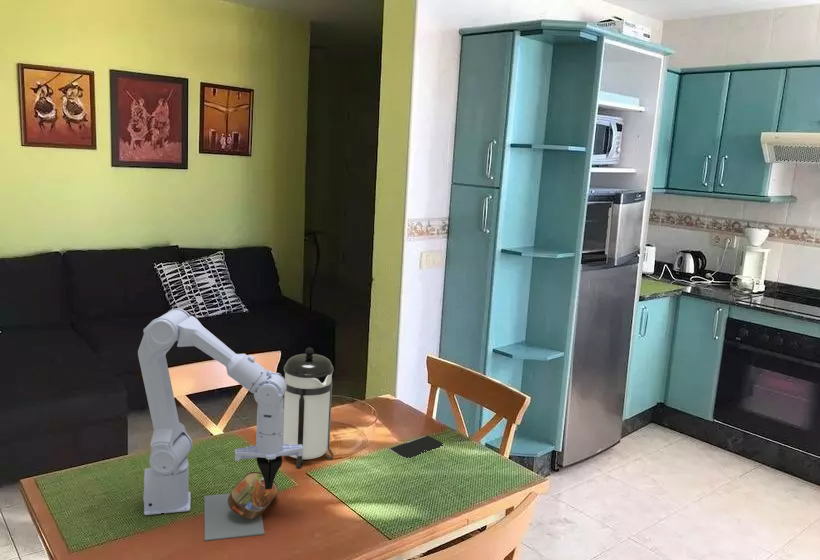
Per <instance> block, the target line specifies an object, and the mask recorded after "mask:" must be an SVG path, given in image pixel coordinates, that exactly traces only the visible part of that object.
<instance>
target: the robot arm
mask: <svg viewBox="0 0 820 560" xmlns="http://www.w3.org/2000/svg"><path fill="white" fill-rule="evenodd" d="M176 342H177V345H176V347H178V348H183V347H184V348H185V347H195V348H197V349H199V350H201V352H203V353H205V354H206V355H208V356H209V357H210V358H212V359H214V360H215V361H217V362H218V363H219V364H221V365H223V366H224V367H225V368H226V373H227V376H228V377H230V378H231V379H232V380H234V382H237V383H238V385H241V386H242V387H243V388H245V389H246V390H247V391H249V392H250V393H252V394H253V398H254V401H255V402H256V403H257V409H256V432H255V433H256V434H255V435H256V439H255V441H256V442H255V445H250V446H246V447H242V448H235V449H234V461H235V462H238V461H239V462H240V461H241V460H250V459H256V463H257V464H256V465H257V466H258V468H259V470H260V473H262V475H263V478H264V483H265V489H266V490H267V489H272V485H273V481H275V478H276V476H277V473H278V472H279V469H280V468H281V466H282V465H283V459H282V458H283V457H291V456H292V455H298V456H303V447H302V444H299V445H295V444H283V421H284V408H283V406H284V398H283V395H284V394H285V392H286V389H287V383H286V380H285V379H284V376H282V374H281V373H279V372H273V371H272V370H270V369H266V368H265V367H263V366H262V365H261V364H260V363H258V362H257V361H256V360H255V359H256V357H255V356H253V355H252V354H249V355H247V354H246V353H236V352H235V351H233V350H232V349H231V347H228V346H227V345H226V343H224V342H223V341H221V340H220V339H219V338H218V337H217V336H215V335H214V334H213V333H211V331H209V330H208V329H207V328H205V327H204V326H203V325H202V323H201V322H200V321H199V320H198V318H197V317H195V316H193V315H190V314H189V313H188V311H186V310H184V309H182V308H179V307H178V308H176V307H175V308H172V309H170V310H168V311H167V312H166V313H164V314H162V315H161V316H159V317H158V318H155V319H152V320H151V321H150V323H149V324H147V326H146V327H144V328H143V335H142V339H141V342H140V344H139V346H138V350H137V356H138V361H139V366H140V370H141V376H142V380H143V385H144V389H145V394H146V400H147V403H148V409H149V413H150V418H151V422H152V423H151V424H152V428H153V432H152V436H151V439H150V440H151V441H150V454H149V458H148V459H149V466H150V467H148V468H147V467H146V468H145V469H144V477H143V495H142V496H143V497H142V501H143V510H144V511H143V515H144V516H152V515H153V516H154V515H162V514H161V513H164V514H172V513H182V512H183V513H184V512H189V511H191V496H192V493H191V492H190V491H189V487H190V485H189V481H190V479H189V478H190V476H189V475H190V474H189V473H190V472H189V471H190V469H189V467H190V464H189V463H190V462H189V460H188V455H189V454H190V453H191V452H192V450H193V446H194V444H193V440H192V438H191V436H189V434H188V432H187V430H186V427H185V425H184V424H183V423H181V422H180V421H179V420H180V419H179V415H178V410H177V405H176V400H175V396H174V390H173V386H172V381H171V375H170V372H169V366H168V361H167V358H166V357H167V356H166V355H167V353H168V352H169V351H170V349H172V347H173V346H174V344H175V343H176Z"/></svg>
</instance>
